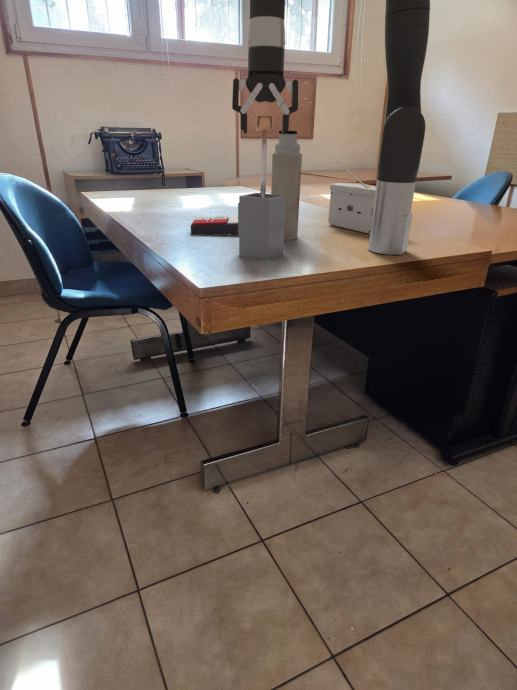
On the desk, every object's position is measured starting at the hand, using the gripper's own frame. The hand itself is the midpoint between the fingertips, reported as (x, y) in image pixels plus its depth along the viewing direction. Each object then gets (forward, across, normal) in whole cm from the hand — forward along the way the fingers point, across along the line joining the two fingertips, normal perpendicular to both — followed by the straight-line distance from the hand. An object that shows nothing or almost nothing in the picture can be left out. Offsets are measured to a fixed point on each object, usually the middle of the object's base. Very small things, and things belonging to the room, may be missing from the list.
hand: (264, 133), depth 100 cm
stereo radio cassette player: (+27, -31, -35) cm, 54 cm away
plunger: (+16, 0, 0) cm, 16 cm away
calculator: (+28, +13, -28) cm, 41 cm away
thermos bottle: (+27, -7, -22) cm, 35 cm away
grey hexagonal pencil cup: (+27, +1, -1) cm, 27 cm away
